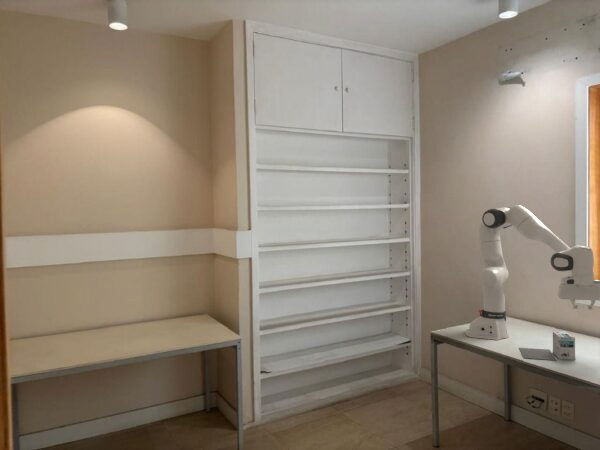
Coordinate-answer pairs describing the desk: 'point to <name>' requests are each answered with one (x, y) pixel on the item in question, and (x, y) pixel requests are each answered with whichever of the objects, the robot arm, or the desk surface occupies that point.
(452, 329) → the desk surface
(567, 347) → the light bulb box
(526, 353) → the rubber mat
